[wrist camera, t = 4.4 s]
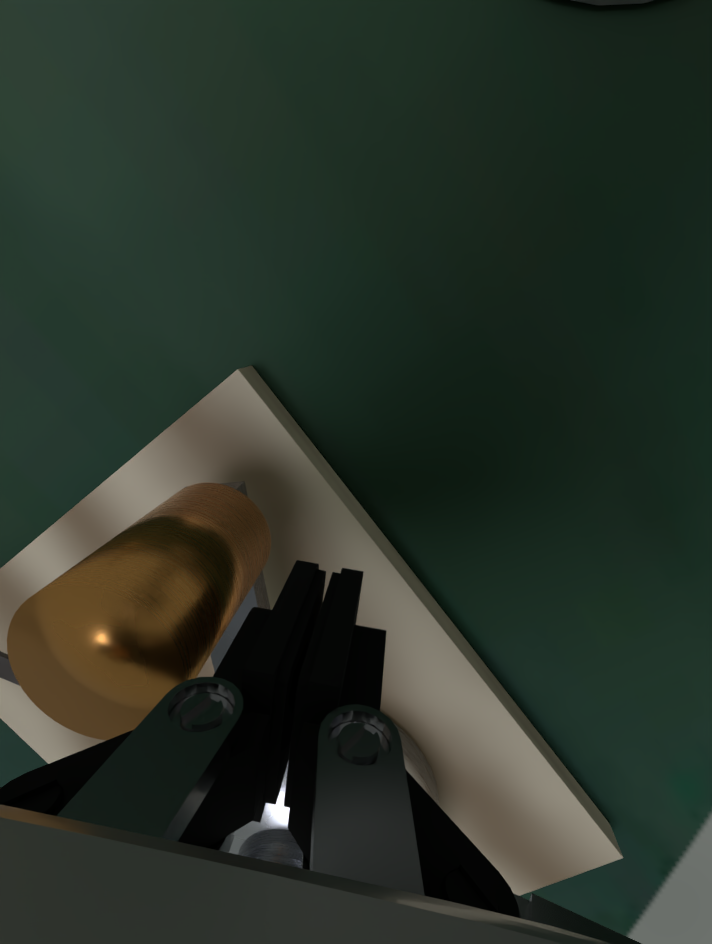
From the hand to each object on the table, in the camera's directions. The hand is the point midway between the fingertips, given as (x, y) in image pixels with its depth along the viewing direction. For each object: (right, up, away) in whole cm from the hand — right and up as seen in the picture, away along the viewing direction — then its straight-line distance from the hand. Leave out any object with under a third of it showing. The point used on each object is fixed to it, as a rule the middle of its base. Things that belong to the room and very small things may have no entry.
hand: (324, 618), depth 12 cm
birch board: (-3, -8, +11) cm, 14 cm away
